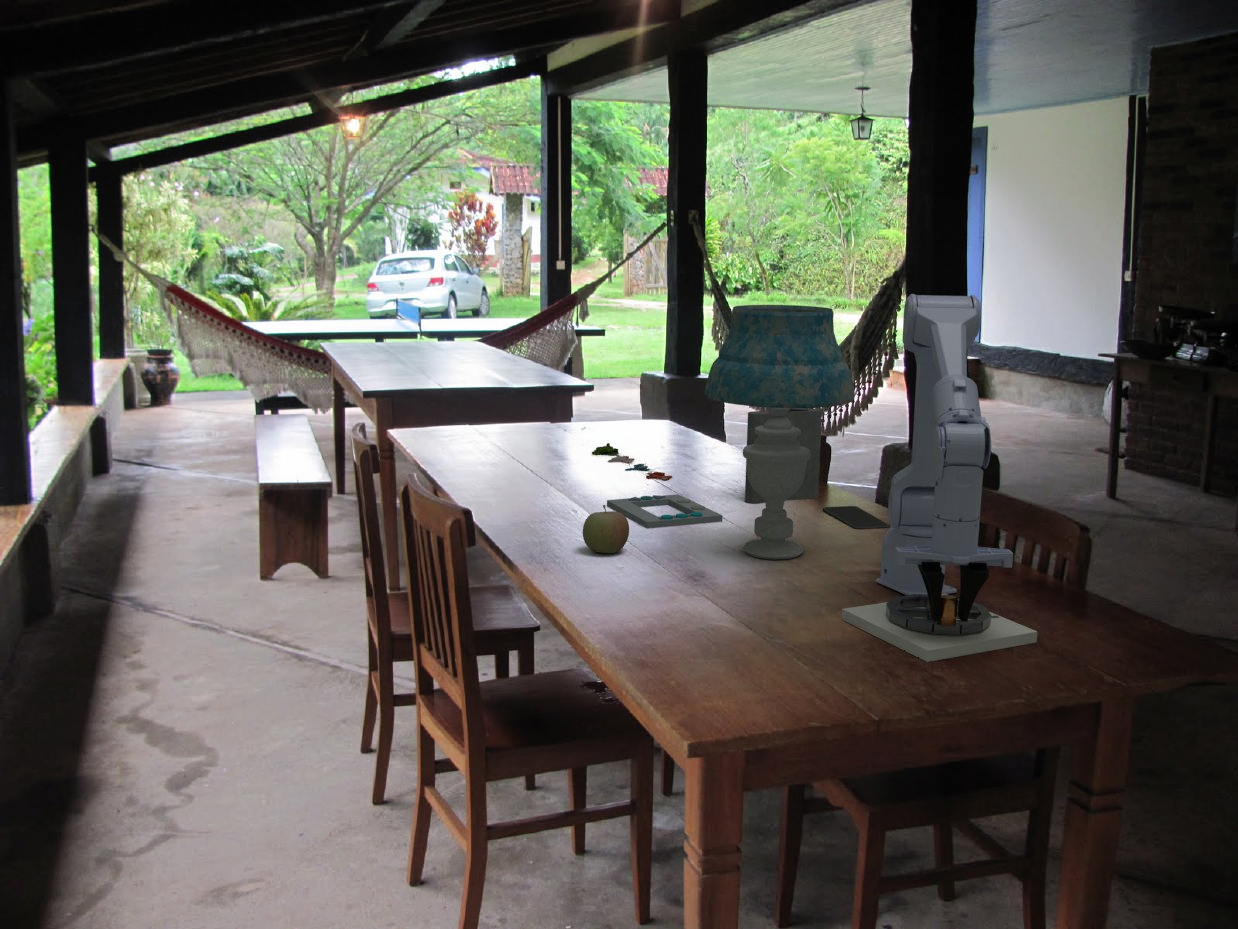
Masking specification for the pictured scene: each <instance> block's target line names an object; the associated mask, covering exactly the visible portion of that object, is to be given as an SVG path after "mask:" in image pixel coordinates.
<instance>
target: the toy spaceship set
mask: <svg viewBox="0 0 1238 929" xmlns="http://www.w3.org/2000/svg"><path fill="white" fill-rule="evenodd" d="M591 455H594V456H606V455H608V456H609V455H614V456H615V455H616V457H611V459H609V460H607V462H608V463H611V464H612V463H624V462H625V463H628V462H629V463H630V462H631V463H632V462H634V461H635V458H633V457H632V458H630V456H629V455H624V454H622V455H620V452H619V449H618V448H615V447H613V446H611V444H610V442H607V443H606V445H603V446H597V447H595V449H594V450H593V451H591ZM624 470H625V471H649V470H651V471H650V472H647V473H645V475H646V476H645V478H646V479H647V480H662V481H665V480H666V481H667V480H670V479H673V476H672V475H666V472H661V471H654V472H652V470H655V468H653V469H652V468H649V466H648V465H647V463H637V464H634V465H633V467H629V468H625V469H624Z"/></svg>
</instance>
